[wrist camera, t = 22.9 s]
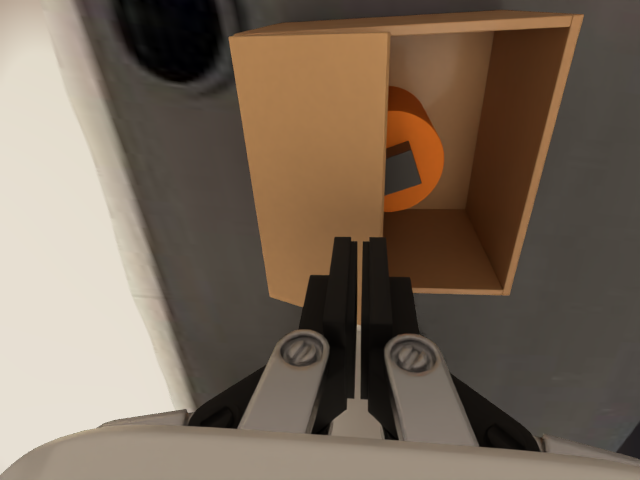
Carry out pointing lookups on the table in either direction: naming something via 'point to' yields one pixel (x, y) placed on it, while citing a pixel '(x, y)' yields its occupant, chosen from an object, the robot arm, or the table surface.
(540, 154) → the carton
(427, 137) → the orange cylinder
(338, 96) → the flap
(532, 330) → the table surface
